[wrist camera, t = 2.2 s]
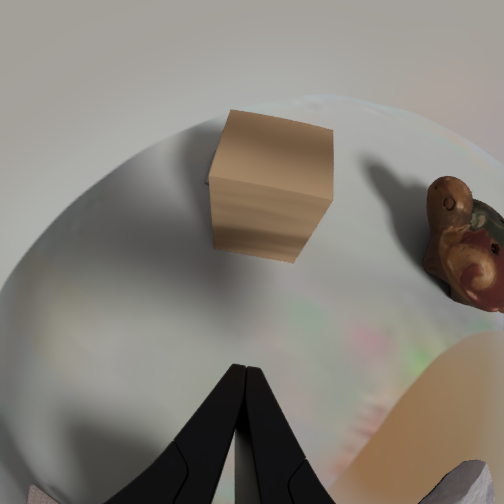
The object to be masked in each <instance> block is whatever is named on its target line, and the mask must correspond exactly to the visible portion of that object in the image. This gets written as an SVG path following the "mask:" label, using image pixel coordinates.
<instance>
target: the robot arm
mask: <svg viewBox="0 0 504 504" xmlns="http://www.w3.org/2000/svg"><path fill="white" fill-rule="evenodd" d="M234 432H235V504H336V503H335V502H334V501H333V499H332V498H331V497H330V495H329V494H328V493H327V491H326V490H325V488H324V487H323V485H322V484H321V482H320V481H319V479H318V477H317V476H316V474H315V472H314V471H313V469H312V467H311V465H310V463H309V462H308V460H307V459H305V458H306V456H305V454H304V452H303V451H302V449H301V447H300V445H299V443H298V441H297V439H296V437H295V435H294V433H293V431H292V430H291V428H290V426H289V424H288V422H287V420H286V418H285V416H284V414H283V412H282V410H281V408H280V406H279V404H278V402H277V400H276V398H275V396H274V394H273V392H272V390H271V388H270V386H269V384H268V382H267V380H266V378H265V376H264V374H263V372H262V370H261V369H260V368H258V367H252V366H248V367H247V368H246V366H245V365H240V364H232V365H231V366H230V367H229V369H228V370H227V371H226V373H225V374H224V375H223V377H222V378H221V379H220V381H219V382H218V383H217V385H216V386H215V387H214V389H213V390H212V391H211V393H210V394H209V395H208V396H207V398H206V399H205V400H204V402H203V403H202V404H201V405H200V407H199V408H198V409H197V411H196V412H195V413H194V414H193V416H192V417H191V418H190V419H189V421H188V422H187V423H186V424H185V426H184V427H183V428H182V429H181V431H180V432H179V433H178V434H177V436H176V437H175V438H174V440H173V441H171V443H170V444H169V445H168V446H167V447H166V449H165V450H164V451H163V452H162V453H161V454H160V455H159V456H158V458H157V459H156V460H155V461H154V462H153V463H152V464H151V465H150V466H149V467H148V468H146V469H145V470H144V471H143V472H142V473H141V474H140V475H139V476H137V477H136V478H135V479H134V480H133V481H131V482H130V483H129V484H128V485H126V486H125V487H124V488H123V489H121V490H120V491H119V492H118V493H116V494H115V495H114V496H113V497H111V498H110V499H108V500H107V501H106V502H104V503H103V504H212V501H213V498H214V495H215V492H216V489H217V486H218V483H219V480H220V477H221V474H222V471H223V468H224V464H225V461H226V458H227V455H228V452H229V448H230V445H231V442H232V439H233V435H234Z"/></svg>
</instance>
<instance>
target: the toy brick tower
mask: <svg viewBox="0 0 504 504" xmlns="http://www.w3.org/2000/svg"><path fill="white" fill-rule="evenodd" d="M27 504H58V503H57V502H56V501H54V500H53V499H52V498H50V497H49V496H48V495H46V494H45V493H44V492H42V491H41V490H40V489H39V488H37V487H36V486H35V485H34V484H33V485H31V486H30V489H29V494H28V501H27Z"/></svg>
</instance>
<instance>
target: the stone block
mask: <svg viewBox="0 0 504 504" xmlns="http://www.w3.org/2000/svg"><path fill="white" fill-rule="evenodd" d="M494 495H495V492H494V486H493V483H492V481H491V474H490V472H489V468H488V466H487V464H486V462H484V461H481V460H472V461H470V460H469V461H464V462H462V463H461V464H460V465H459V466H457V467H456V468H454V469H453V470H452V471H450V472H449V473H447V474H446V475H445V476H444V477H443V478H442V479H441V480H440V482H439V483H438V484H437V485H436V486H435V487H434V488H433V489H432V490H431V491H430V492H429V493H428V494H427V495H426V496H425V497H423V499H422V500H421V501H420V502H419V503H418V504H495V501H494Z"/></svg>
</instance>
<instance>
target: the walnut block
mask: <svg viewBox="0 0 504 504" xmlns="http://www.w3.org/2000/svg"><path fill="white" fill-rule="evenodd" d="M333 171H334V153H333V130H330V129H327V128H323V127H319V126H315V125H310V124H306V123H302V122H297V121H293V120H288V119H283V118H278V117H273V116H268V115H262V114H257V113H251V112H244V111H238V110H230V113H229V116H228V119H227V121H226V124H225V127H224V130H223V133H222V136H221V139H220V142H219V145H218V148H217V151H216V154H215V157H214V160H213V163H212V167H211V170H210V173H209V189H210V204H211V217H212V230H213V242H214V248H215V249H220V250H226V251H231V252H236V253H241V254H247V255H252V256H257V257H263V258H268V259H273V260H279V261H284V262H289V263H294V261H295V260H296V258H297V257H298V255H299V254H300V252H301V250H302V249H303V247H304V246H305V244H306V243H307V241H308V239H309V238H310V236H311V235H312V233H313V232H314V230H315V228H316V227H317V225H318V224H319V222H320V220H321V219H322V217H323V216H324V214H325V212H326V211H327V209H328V208H329V206H330V204H331V203H332V201H333Z"/></svg>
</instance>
